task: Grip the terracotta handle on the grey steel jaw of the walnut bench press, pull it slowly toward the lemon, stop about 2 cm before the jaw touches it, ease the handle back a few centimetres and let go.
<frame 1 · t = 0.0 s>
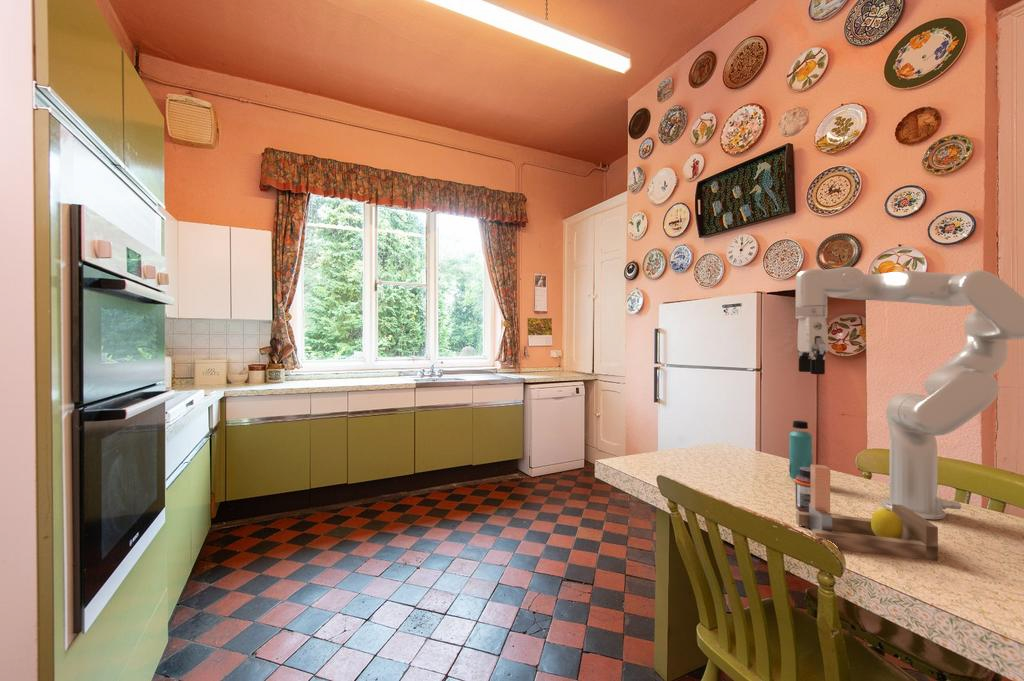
hand: (811, 372, 125), 37 cm above the table, tool pointing down, fingers open, 9 cm apart
sliding jaw: (820, 500, 103), point 8 cm above the table, slide at 0.0 cm
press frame: (860, 540, 100), on the table
beverage bottle: (800, 483, 141), on the table
supplement bottle: (808, 511, 118), on the table
lemon: (886, 544, 99), resting in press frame
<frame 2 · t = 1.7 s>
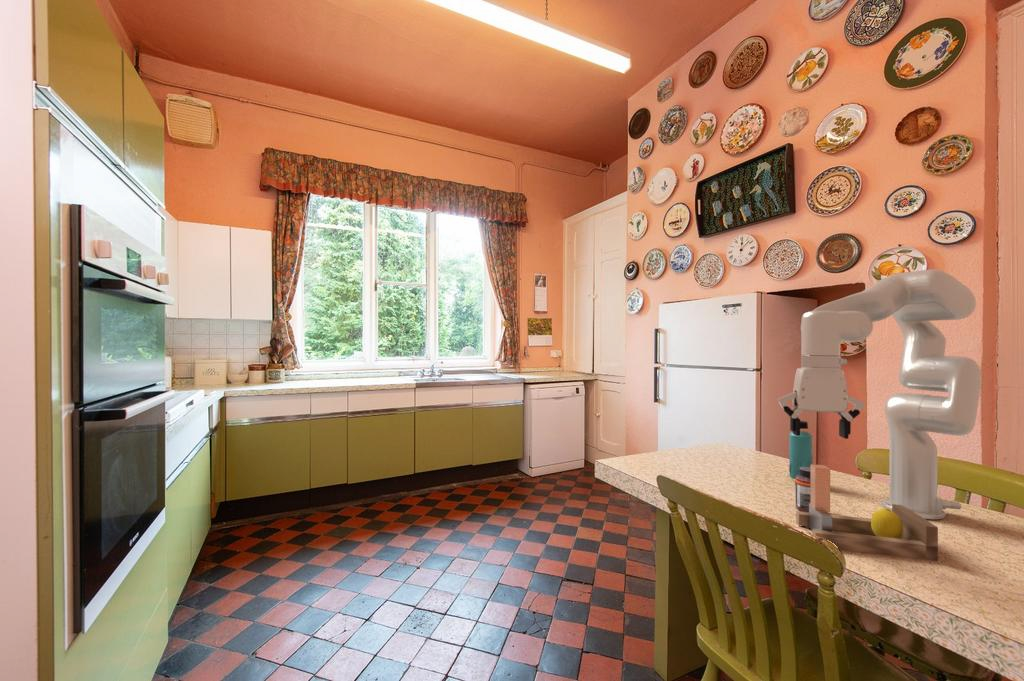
hand: (819, 436, 103), 23 cm above the table, tool pointing down, fingers open, 9 cm apart
nothing on the table moved.
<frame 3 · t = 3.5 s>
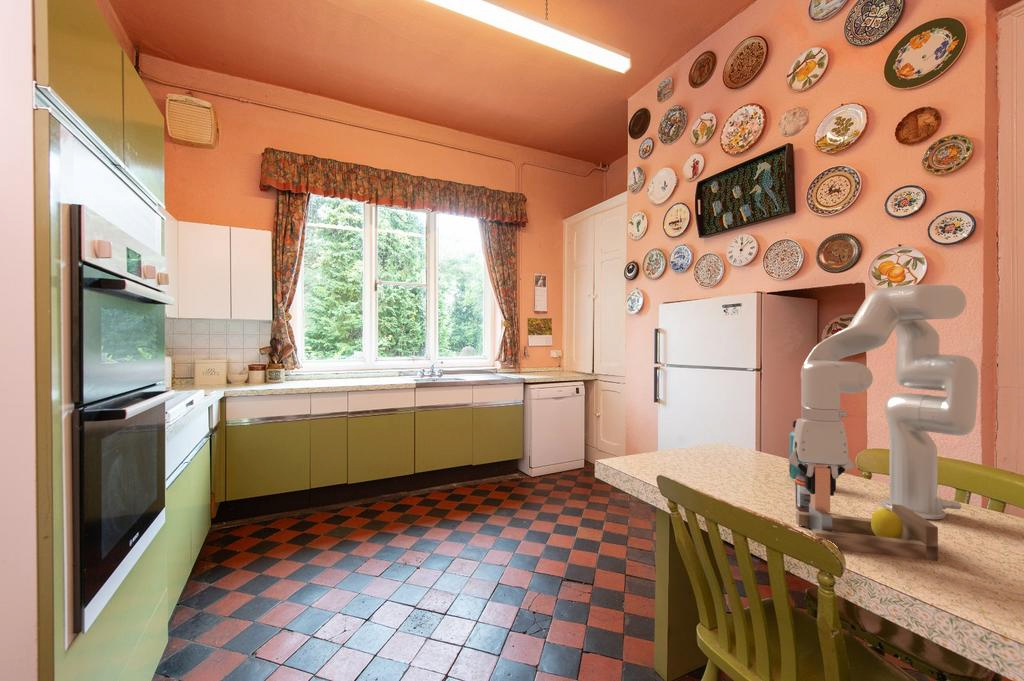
hand: (820, 492, 103), 10 cm above the table, tool pointing down, fingers closed on sliding jaw, 3 cm apart
sliding jaw: (820, 500, 103), point 8 cm above the table, slide at 0.0 cm, touching gripper
everything else where it was.
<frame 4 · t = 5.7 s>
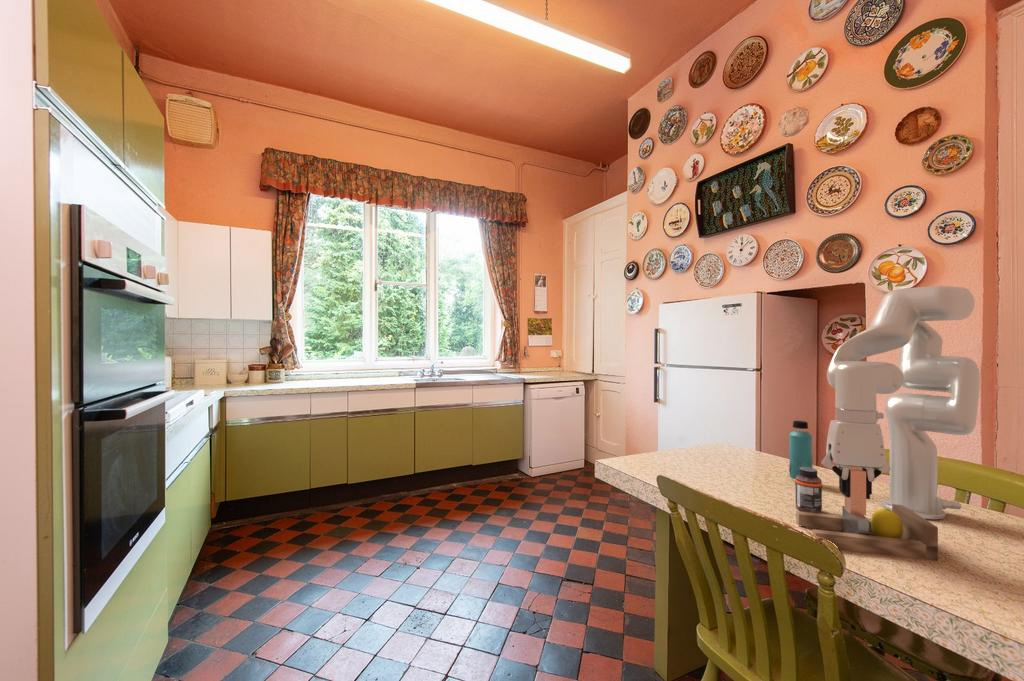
hand: (855, 495, 101), 10 cm above the table, tool pointing down, fingers closed on sliding jaw, 3 cm apart
sliding jaw: (855, 503, 101), point 8 cm above the table, slide at 7.0 cm, touching gripper
everything else where it was.
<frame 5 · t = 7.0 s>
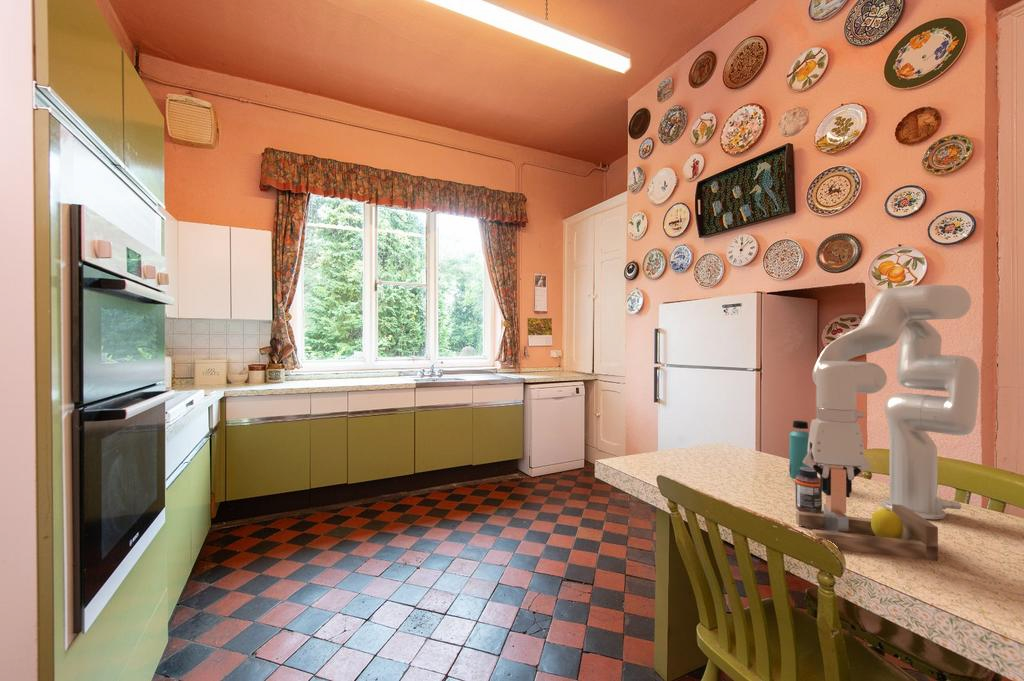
hand: (835, 493, 102), 10 cm above the table, tool pointing down, fingers closed on sliding jaw, 3 cm apart
sliding jaw: (835, 501, 102), point 8 cm above the table, slide at 3.1 cm, touching gripper
everything else where it was.
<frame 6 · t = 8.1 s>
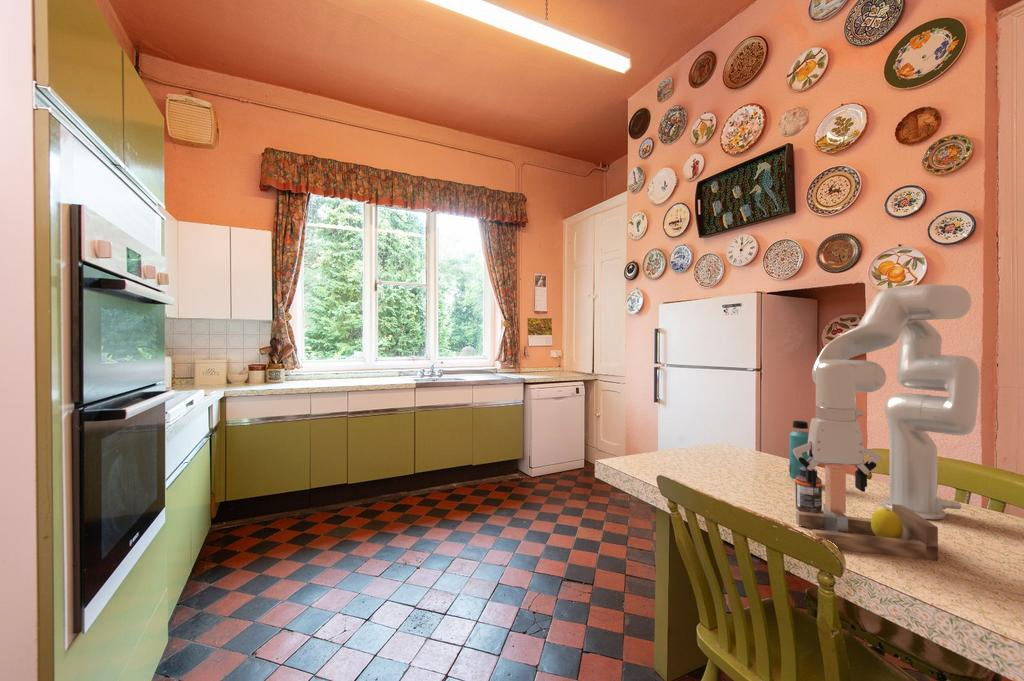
hand: (835, 487, 102), 12 cm above the table, tool pointing down, fingers open, 9 cm apart
sliding jaw: (835, 501, 102), point 8 cm above the table, slide at 3.0 cm
everything else where it was.
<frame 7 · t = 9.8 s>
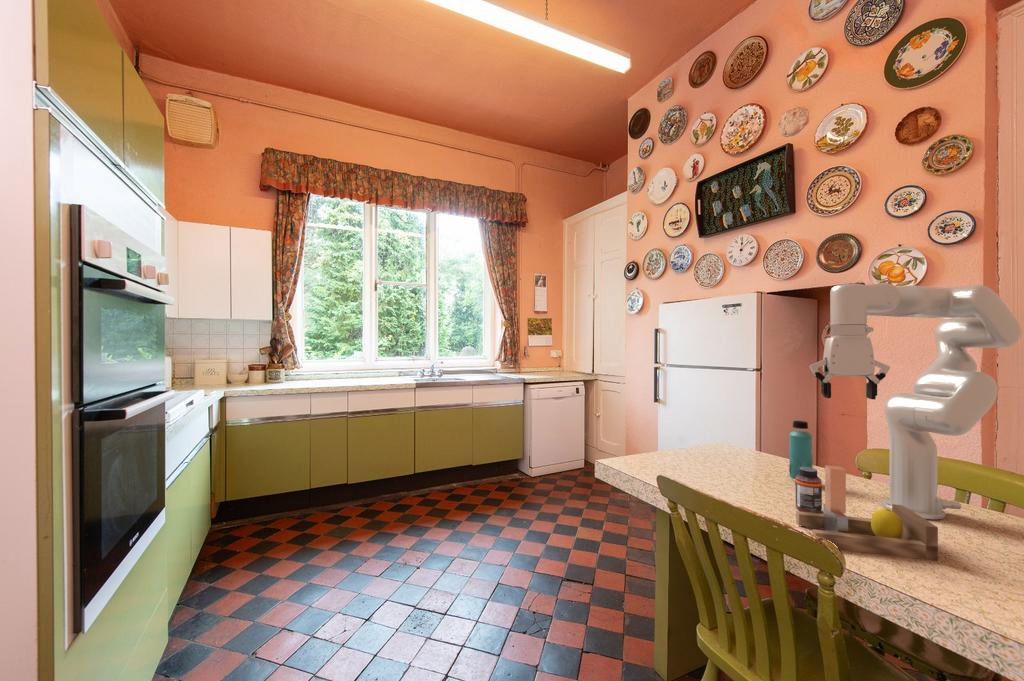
hand: (848, 398, 113), 31 cm above the table, tool pointing down, fingers open, 9 cm apart
nothing on the table moved.
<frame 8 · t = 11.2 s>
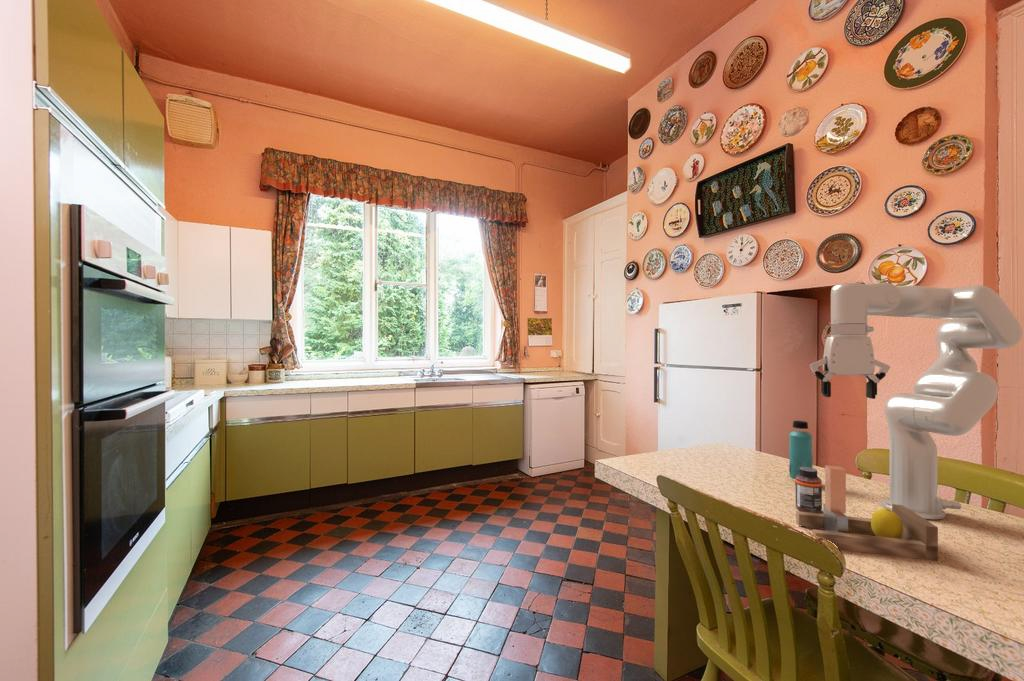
hand: (848, 397, 113), 31 cm above the table, tool pointing down, fingers open, 9 cm apart
nothing on the table moved.
at the end: sliding jaw slide at 3.0 cm; lemon moved 0.2 cm from its start; the gripper is holding nothing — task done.
